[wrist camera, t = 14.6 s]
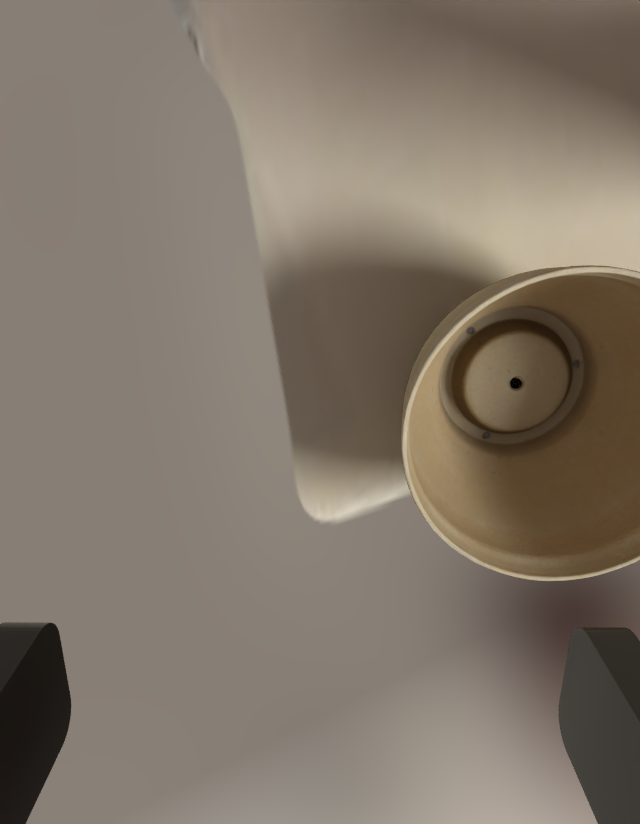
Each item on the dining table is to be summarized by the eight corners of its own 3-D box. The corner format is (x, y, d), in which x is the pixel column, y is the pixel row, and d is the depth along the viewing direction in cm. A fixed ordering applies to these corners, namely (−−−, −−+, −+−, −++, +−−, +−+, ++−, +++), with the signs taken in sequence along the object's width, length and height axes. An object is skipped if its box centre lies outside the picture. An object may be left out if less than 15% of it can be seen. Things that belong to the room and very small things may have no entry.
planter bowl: (518, 187, 35) (597, 185, 25) (685, 368, 39) (814, 430, 29) (330, 382, 39) (332, 448, 29) (497, 529, 43) (551, 634, 33)
